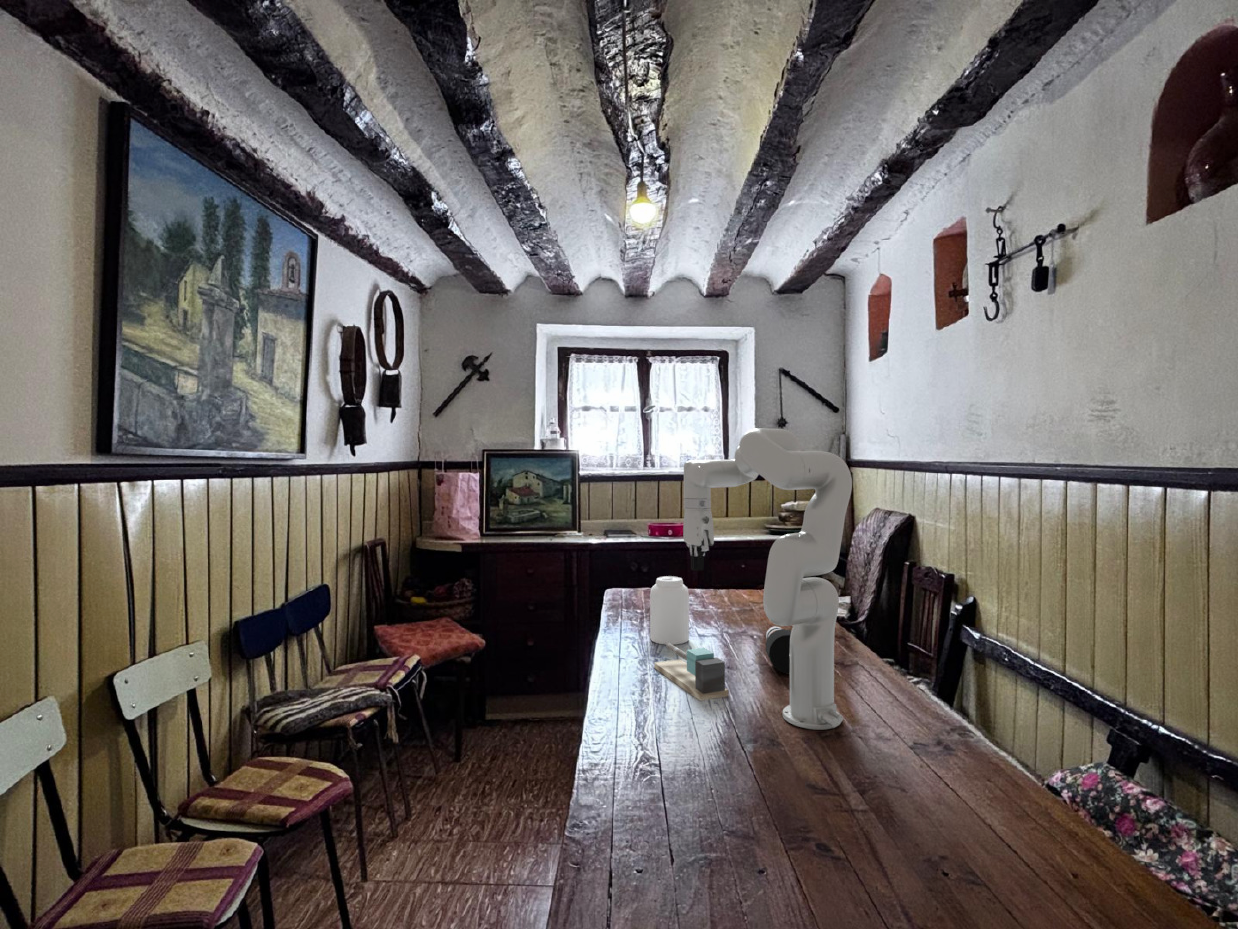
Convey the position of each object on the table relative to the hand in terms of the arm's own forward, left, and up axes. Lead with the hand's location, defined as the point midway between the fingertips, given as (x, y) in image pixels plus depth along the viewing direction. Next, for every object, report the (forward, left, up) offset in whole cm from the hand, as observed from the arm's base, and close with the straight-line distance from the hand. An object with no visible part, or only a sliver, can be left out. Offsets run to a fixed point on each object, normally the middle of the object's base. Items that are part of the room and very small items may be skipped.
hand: (697, 569), depth 182 cm
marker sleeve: (-16, +8, -23) cm, 29 cm away
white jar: (+26, -4, -27) cm, 38 cm away
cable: (-2, -26, -28) cm, 38 cm away
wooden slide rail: (-10, +8, -27) cm, 30 cm away
